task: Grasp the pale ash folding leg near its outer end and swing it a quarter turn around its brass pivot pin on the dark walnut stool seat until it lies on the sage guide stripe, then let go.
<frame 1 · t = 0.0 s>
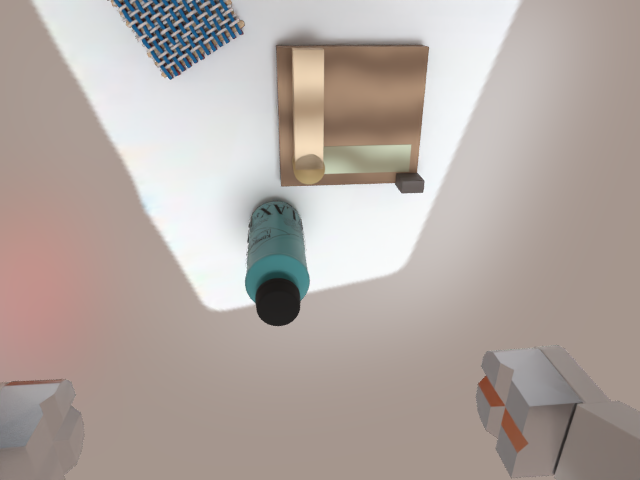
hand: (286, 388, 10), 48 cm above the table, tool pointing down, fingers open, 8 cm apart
beverage bottle: (274, 218, 60), on the table
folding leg: (307, 118, 51), point 4 cm above the table, hinge at 90.0°
woven mat: (177, 8, 49), on the table
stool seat: (348, 115, 55), on the table
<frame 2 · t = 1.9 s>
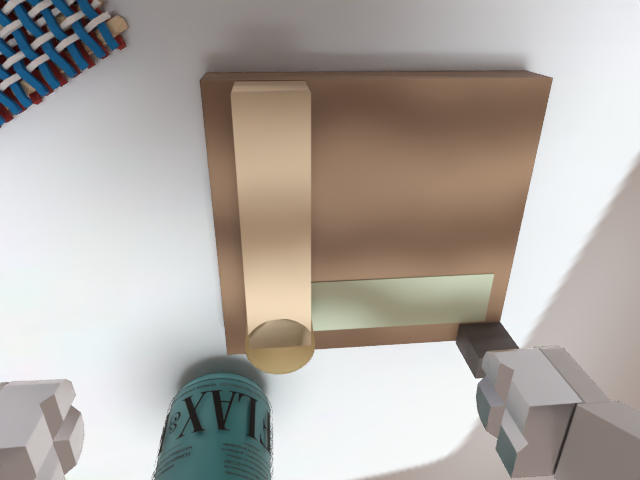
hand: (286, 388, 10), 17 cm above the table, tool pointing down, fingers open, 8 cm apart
beverage bottle: (222, 389, 32), on the table
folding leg: (276, 239, 22), point 4 cm above the table, hinge at 90.0°
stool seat: (363, 211, 27), on the table
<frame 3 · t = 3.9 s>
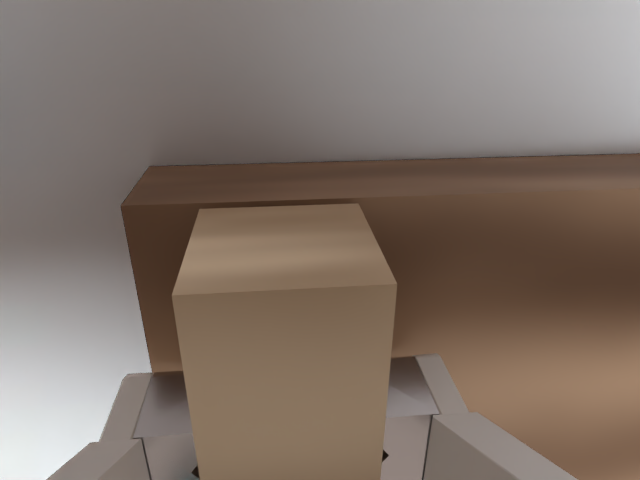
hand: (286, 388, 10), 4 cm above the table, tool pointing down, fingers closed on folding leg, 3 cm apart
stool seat: (441, 386, 15), on the table
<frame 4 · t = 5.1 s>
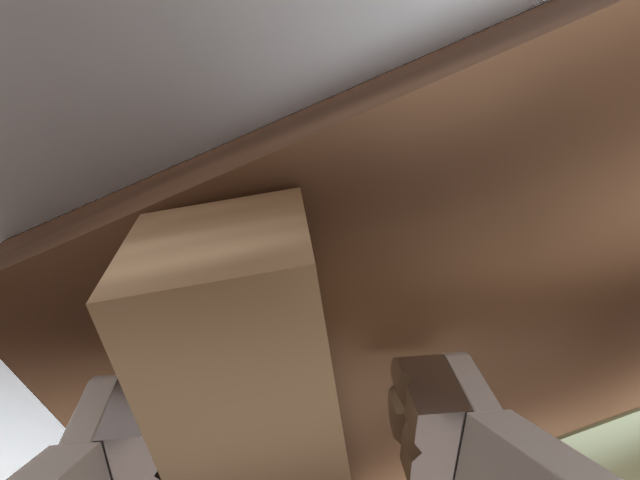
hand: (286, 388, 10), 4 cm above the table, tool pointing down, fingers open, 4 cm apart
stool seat: (401, 343, 14), on the table
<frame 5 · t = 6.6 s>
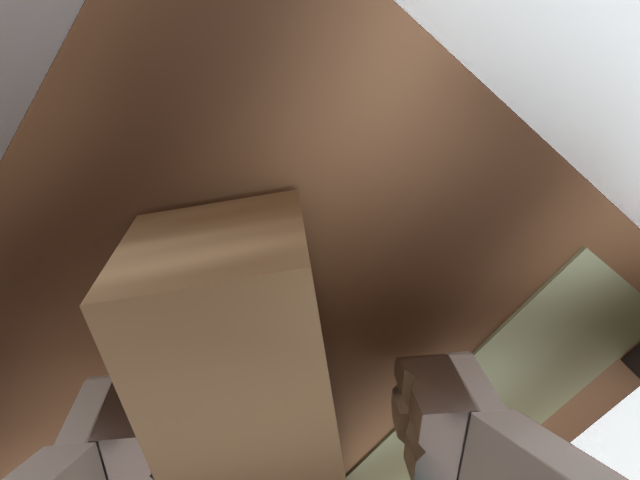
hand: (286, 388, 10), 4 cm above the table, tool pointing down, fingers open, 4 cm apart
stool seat: (283, 335, 14), on the table
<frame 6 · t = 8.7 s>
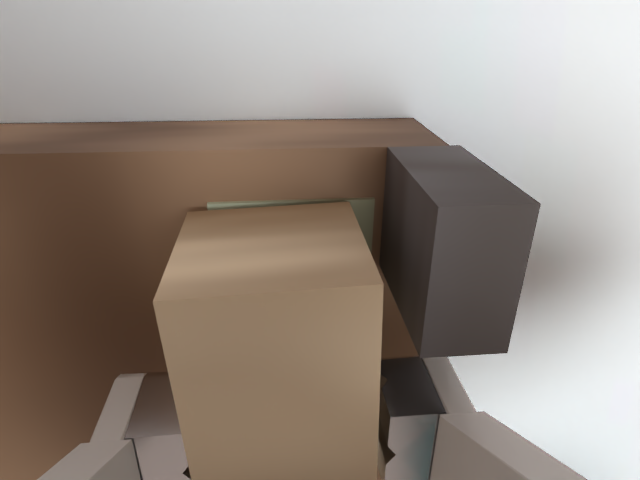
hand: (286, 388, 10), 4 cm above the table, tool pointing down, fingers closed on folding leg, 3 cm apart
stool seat: (139, 395, 14), on the table
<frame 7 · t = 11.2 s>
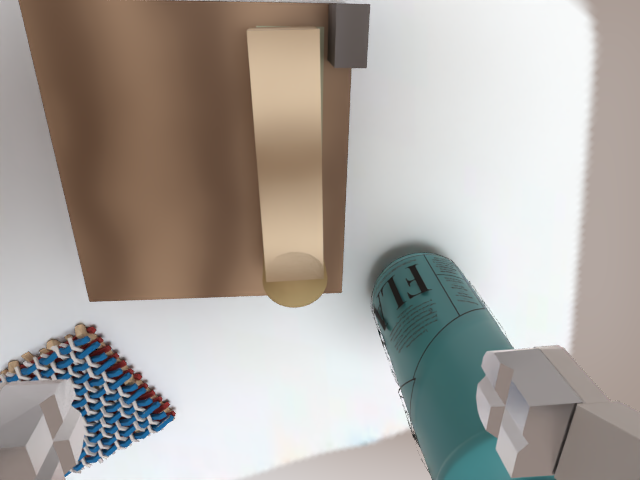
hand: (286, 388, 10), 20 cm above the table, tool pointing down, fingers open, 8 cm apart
beverage bottle: (411, 279, 33), on the table
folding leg: (289, 177, 24), point 4 cm above the table, hinge at 1.9°
woven mat: (82, 392, 35), on the table
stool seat: (211, 156, 28), on the table
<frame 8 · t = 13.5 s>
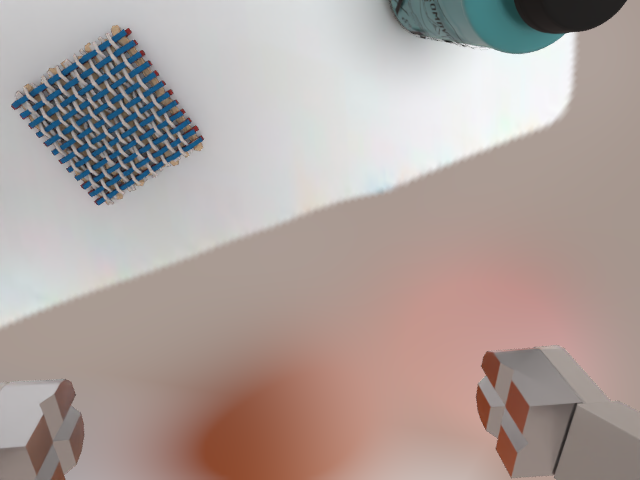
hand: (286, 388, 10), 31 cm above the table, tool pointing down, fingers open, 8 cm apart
woven mat: (115, 119, 37), on the table
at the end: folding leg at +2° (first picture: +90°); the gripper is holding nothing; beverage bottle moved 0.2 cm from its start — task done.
